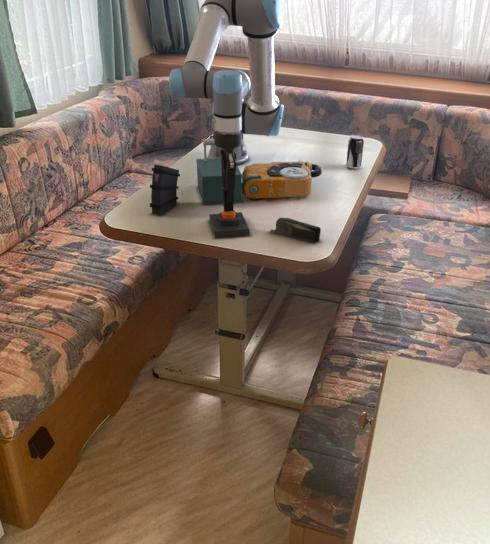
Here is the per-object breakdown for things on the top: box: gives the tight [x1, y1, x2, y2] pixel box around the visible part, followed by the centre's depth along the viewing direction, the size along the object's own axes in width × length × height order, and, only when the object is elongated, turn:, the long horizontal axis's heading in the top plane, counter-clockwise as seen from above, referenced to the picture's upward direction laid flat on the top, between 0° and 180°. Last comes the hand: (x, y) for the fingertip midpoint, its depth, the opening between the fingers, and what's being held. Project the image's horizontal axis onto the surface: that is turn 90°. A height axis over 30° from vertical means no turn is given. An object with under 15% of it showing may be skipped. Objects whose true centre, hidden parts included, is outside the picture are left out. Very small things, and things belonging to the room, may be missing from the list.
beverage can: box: [345, 134, 365, 170], centre depth 219 cm, size 6×6×12 cm
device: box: [241, 159, 323, 200], centre depth 199 cm, size 23×8×30 cm
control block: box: [208, 211, 250, 239], centre depth 171 cm, size 12×10×4 cm
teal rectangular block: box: [196, 164, 243, 206], centre depth 192 cm, size 16×13×9 cm
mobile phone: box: [270, 217, 322, 244], centre depth 167 cm, size 5×3×15 cm
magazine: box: [149, 164, 181, 217], centre depth 180 cm, size 4×13×15 cm, turn 160°
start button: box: [221, 209, 237, 219], centre depth 170 cm, size 4×4×2 cm
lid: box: [195, 138, 242, 179], centre depth 188 cm, size 16×13×8 cm
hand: (228, 210), depth 169 cm, fingers closed
